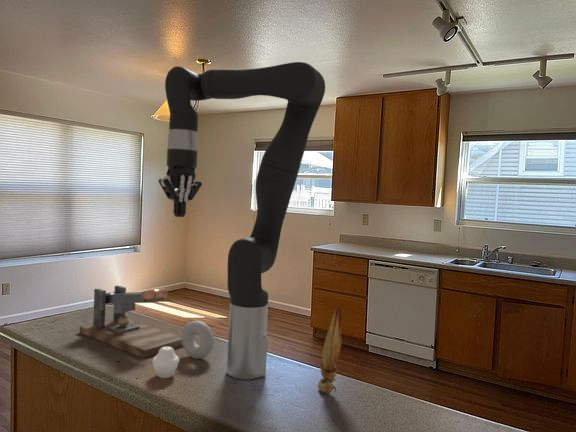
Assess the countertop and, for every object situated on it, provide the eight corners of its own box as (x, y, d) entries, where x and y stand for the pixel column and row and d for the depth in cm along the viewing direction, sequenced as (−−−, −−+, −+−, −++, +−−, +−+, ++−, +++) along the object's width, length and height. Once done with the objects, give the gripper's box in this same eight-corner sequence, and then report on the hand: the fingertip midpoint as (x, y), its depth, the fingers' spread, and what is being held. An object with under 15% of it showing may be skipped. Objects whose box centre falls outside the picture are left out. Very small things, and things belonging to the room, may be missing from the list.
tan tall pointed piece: (332, 403, 96) (337, 311, 95) (309, 397, 98) (315, 307, 97) (341, 391, 102) (347, 304, 102) (320, 386, 105) (325, 301, 104)
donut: (177, 355, 119) (179, 318, 118) (186, 352, 122) (188, 316, 121) (207, 364, 114) (209, 325, 113) (215, 360, 117) (217, 322, 116)
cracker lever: (168, 309, 126) (167, 287, 126) (150, 313, 120) (148, 290, 121) (117, 309, 139) (115, 289, 140) (98, 313, 134) (96, 292, 134)
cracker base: (185, 345, 127) (187, 299, 127) (144, 358, 116) (146, 308, 115) (120, 323, 144) (122, 283, 144) (79, 332, 133) (81, 289, 132)
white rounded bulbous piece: (184, 375, 107) (185, 346, 106) (163, 383, 101) (165, 352, 101) (166, 368, 110) (167, 340, 110) (146, 375, 105) (147, 346, 105)
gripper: (172, 145, 107) (169, 218, 108) (211, 151, 118) (208, 217, 118) (151, 146, 111) (148, 215, 112) (191, 152, 122) (188, 215, 123)
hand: (179, 216), depth 115 cm, fingers closed
